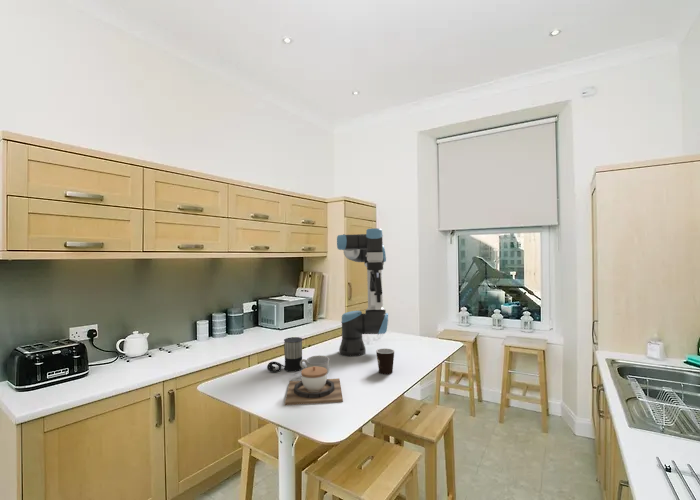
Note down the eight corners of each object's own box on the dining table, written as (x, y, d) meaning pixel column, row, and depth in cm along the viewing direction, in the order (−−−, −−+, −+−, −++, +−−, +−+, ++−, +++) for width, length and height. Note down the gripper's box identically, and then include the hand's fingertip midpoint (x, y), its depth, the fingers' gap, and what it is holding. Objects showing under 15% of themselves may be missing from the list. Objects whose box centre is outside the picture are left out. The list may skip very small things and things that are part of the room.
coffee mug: (394, 375, 159) (393, 354, 159) (375, 374, 160) (375, 353, 160) (395, 367, 170) (395, 347, 170) (378, 366, 172) (378, 346, 172)
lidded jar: (305, 396, 135) (305, 372, 135) (298, 387, 145) (298, 364, 145) (331, 391, 139) (330, 368, 140) (322, 382, 149) (322, 361, 149)
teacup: (333, 373, 164) (332, 356, 164) (324, 381, 154) (323, 363, 154) (306, 370, 168) (306, 354, 169) (296, 378, 158) (295, 361, 158)
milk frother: (307, 368, 172) (306, 338, 172) (282, 377, 160) (281, 345, 160) (288, 362, 181) (287, 334, 181) (263, 371, 169) (262, 341, 169)
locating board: (289, 383, 152) (289, 377, 152) (339, 380, 154) (339, 375, 154) (285, 405, 130) (284, 398, 130) (342, 401, 132) (342, 395, 132)
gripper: (363, 261, 172) (364, 303, 172) (371, 262, 147) (372, 312, 147) (378, 260, 173) (379, 302, 173) (388, 262, 148) (389, 311, 148)
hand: (376, 307), depth 160 cm, fingers open, 13 cm apart
